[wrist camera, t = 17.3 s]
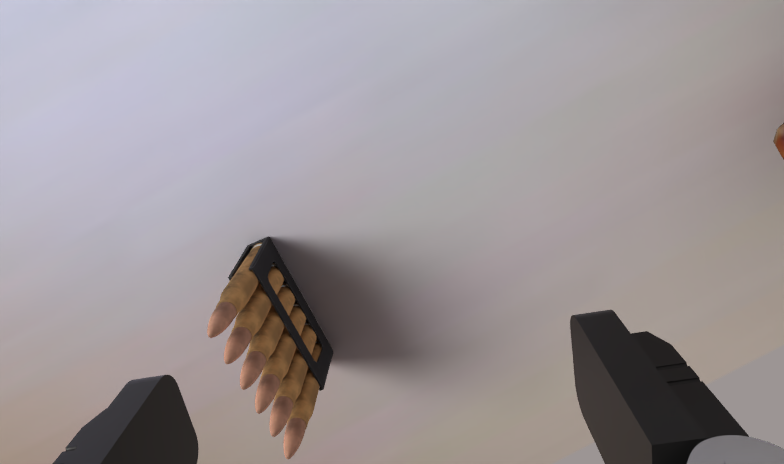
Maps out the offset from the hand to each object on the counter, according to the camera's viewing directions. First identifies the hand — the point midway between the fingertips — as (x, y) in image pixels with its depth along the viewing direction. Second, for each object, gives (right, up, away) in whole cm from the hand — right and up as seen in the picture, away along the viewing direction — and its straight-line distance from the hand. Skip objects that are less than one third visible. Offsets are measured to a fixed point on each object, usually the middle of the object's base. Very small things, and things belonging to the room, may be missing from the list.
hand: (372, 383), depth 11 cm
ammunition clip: (-7, -2, +31) cm, 32 cm away
